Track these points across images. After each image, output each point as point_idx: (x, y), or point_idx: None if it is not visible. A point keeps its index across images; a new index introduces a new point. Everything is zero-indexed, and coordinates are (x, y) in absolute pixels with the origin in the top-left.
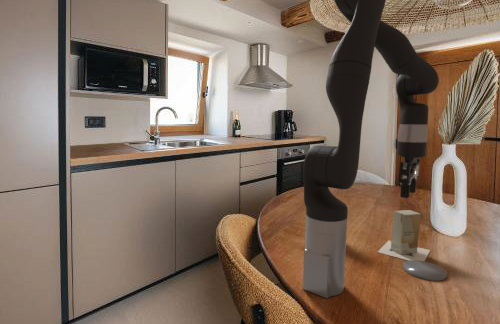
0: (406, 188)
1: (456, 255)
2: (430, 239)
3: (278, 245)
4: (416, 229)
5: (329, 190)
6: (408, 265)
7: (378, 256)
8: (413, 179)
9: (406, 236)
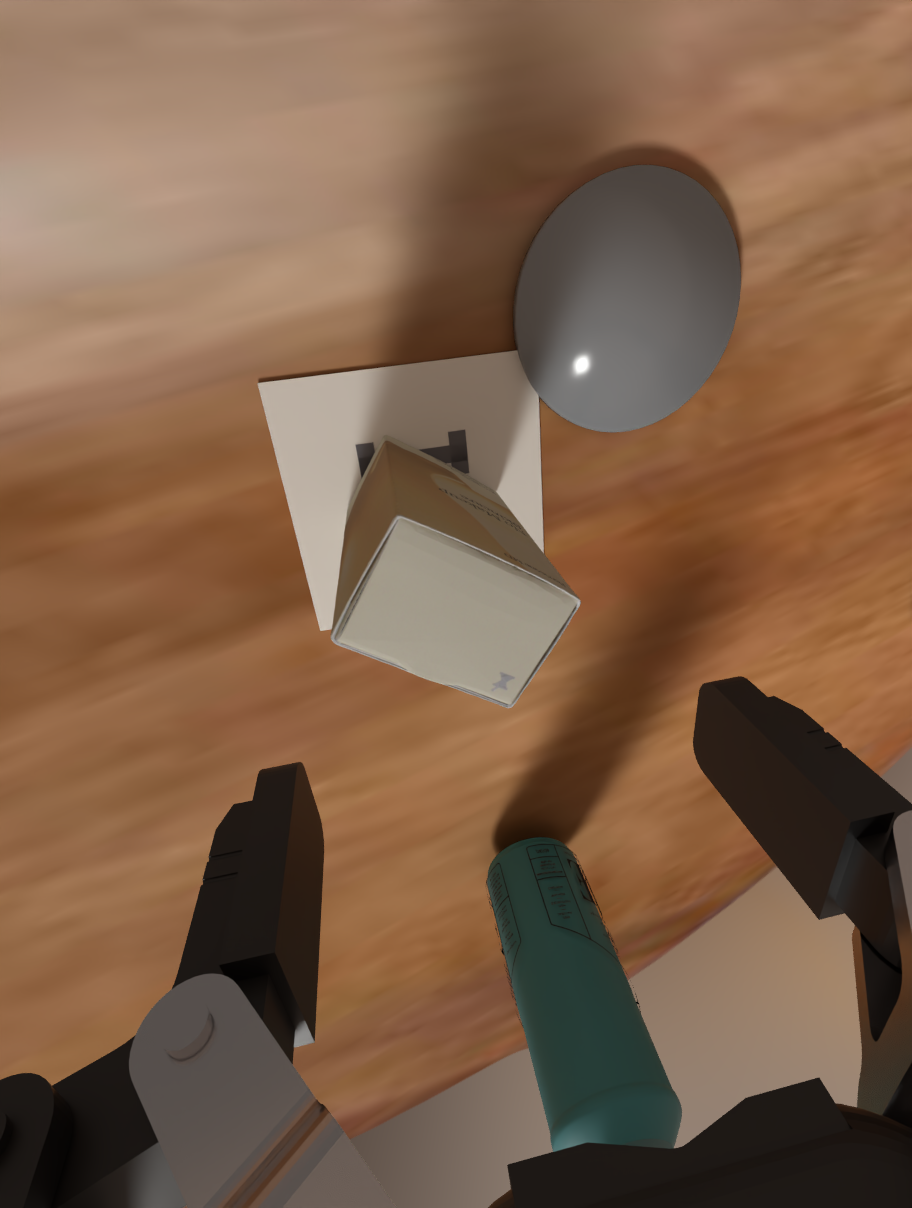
0: (878, 790)
1: (175, 193)
2: (8, 454)
3: (742, 851)
4: (421, 485)
5: (591, 1128)
6: (639, 398)
7: (592, 564)
8: (268, 1025)
9: (495, 512)
